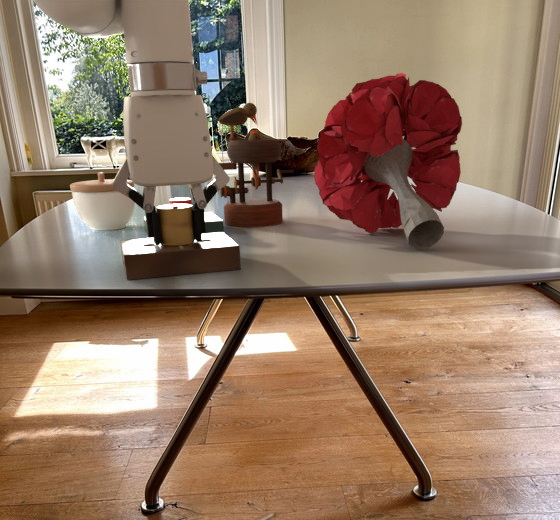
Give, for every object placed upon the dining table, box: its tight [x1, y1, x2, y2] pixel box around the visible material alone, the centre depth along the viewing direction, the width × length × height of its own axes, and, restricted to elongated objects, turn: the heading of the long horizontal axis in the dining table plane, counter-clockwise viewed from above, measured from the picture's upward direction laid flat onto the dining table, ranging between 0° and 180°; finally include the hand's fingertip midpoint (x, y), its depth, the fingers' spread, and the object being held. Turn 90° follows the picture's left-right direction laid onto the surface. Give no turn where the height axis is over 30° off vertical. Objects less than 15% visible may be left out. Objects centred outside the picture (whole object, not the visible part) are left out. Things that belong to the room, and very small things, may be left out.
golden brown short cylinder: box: [156, 203, 195, 246], centre depth 75 cm, size 4×4×5 cm
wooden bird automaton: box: [208, 102, 295, 228], centre depth 104 cm, size 15×11×20 cm
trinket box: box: [69, 171, 136, 232], centre depth 104 cm, size 11×11×9 cm
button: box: [169, 197, 193, 205], centre depth 99 cm, size 4×4×2 cm
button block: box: [142, 206, 225, 236], centre depth 100 cm, size 12×10×4 cm
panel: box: [119, 231, 242, 281], centre depth 77 cm, size 14×10×3 cm
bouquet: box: [313, 72, 463, 250], centre depth 89 cm, size 22×24×30 cm
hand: (177, 239), depth 76 cm, fingers closed on golden brown short cylinder, 4 cm apart
